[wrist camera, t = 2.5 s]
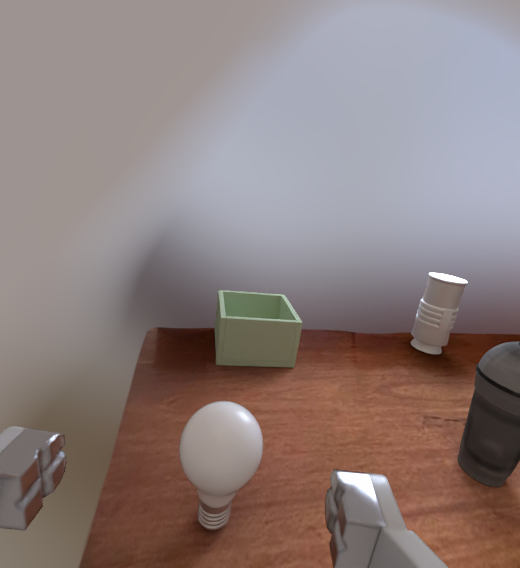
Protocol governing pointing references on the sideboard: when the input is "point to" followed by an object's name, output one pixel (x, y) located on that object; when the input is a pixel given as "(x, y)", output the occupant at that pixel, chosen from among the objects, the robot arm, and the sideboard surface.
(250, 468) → the lightbulb
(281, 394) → the sideboard surface
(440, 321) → the white ribbed cylinder
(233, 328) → the bin
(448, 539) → the sideboard surface
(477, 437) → the beverage cup
